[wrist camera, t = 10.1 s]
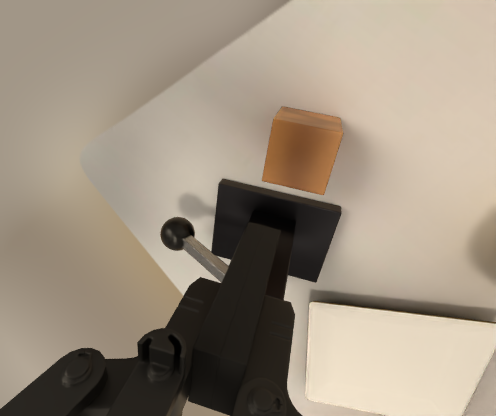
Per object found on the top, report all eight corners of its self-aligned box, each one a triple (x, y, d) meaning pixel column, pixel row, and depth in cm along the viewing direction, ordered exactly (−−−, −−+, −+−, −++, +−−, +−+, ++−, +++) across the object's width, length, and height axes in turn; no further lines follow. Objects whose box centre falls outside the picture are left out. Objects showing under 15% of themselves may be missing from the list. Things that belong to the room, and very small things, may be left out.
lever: (181, 233, 31) (154, 244, 29) (182, 207, 30) (153, 217, 27) (274, 312, 24) (247, 334, 22) (282, 284, 22) (254, 305, 20)
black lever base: (214, 247, 34) (168, 331, 24) (222, 178, 30) (170, 245, 20) (316, 275, 33) (313, 376, 23) (341, 206, 28) (350, 294, 18)
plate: (497, 310, 30) (508, 327, 28) (450, 412, 39) (456, 430, 37) (310, 289, 34) (309, 303, 32) (305, 386, 43) (304, 401, 41)
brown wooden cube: (271, 160, 28) (261, 181, 24) (282, 106, 25) (273, 118, 21) (323, 172, 27) (323, 195, 23) (340, 117, 25) (343, 132, 20)
